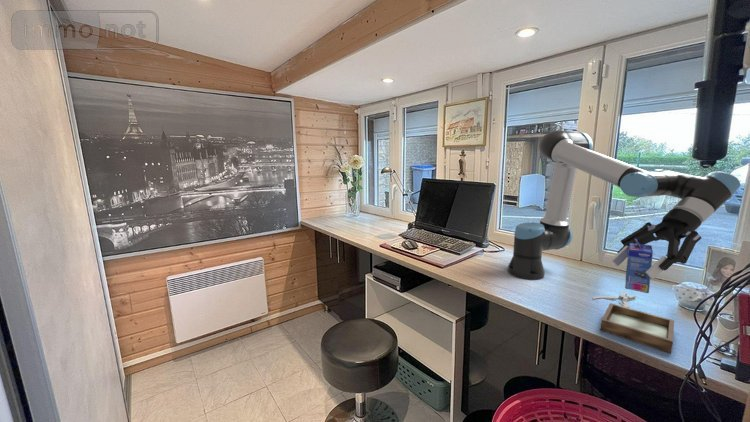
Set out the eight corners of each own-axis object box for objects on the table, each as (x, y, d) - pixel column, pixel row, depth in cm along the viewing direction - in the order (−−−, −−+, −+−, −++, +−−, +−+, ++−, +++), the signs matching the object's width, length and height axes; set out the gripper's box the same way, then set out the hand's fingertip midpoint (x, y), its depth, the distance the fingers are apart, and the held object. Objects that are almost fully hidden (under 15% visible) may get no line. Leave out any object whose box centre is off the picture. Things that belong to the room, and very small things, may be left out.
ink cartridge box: (624, 279, 94) (630, 235, 91) (647, 283, 90) (654, 237, 88) (623, 288, 86) (629, 241, 84) (649, 294, 83) (656, 244, 81)
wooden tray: (600, 330, 90) (601, 319, 90) (608, 312, 101) (610, 303, 100) (670, 353, 79) (673, 341, 79) (672, 330, 90) (674, 320, 89)
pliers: (591, 295, 111) (615, 289, 117) (591, 299, 111) (615, 292, 117) (621, 307, 102) (646, 299, 108) (621, 311, 102) (645, 303, 108)
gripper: (744, 233, 76) (680, 293, 77) (653, 218, 98) (605, 264, 99) (729, 213, 74) (664, 274, 75) (641, 202, 97) (592, 249, 98)
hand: (630, 269), depth 87 cm, fingers closed on ink cartridge box, 10 cm apart
